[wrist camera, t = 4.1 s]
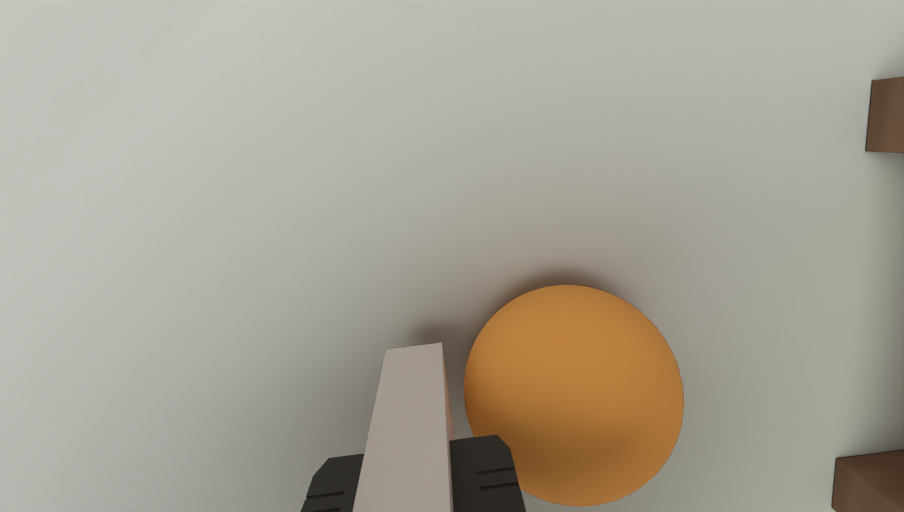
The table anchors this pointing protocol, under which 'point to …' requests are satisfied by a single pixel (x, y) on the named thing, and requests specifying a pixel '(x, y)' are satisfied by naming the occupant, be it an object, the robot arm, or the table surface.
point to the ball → (575, 393)
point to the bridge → (893, 473)
